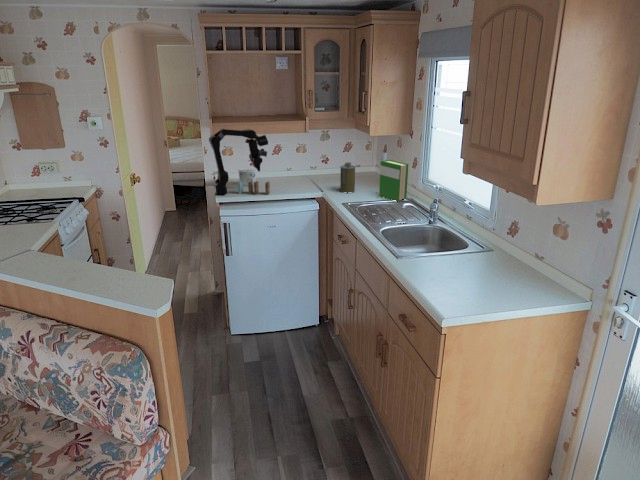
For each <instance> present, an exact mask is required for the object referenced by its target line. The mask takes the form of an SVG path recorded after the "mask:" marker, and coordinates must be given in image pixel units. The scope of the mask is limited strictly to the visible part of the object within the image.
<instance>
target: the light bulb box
mask: <svg viewBox="0 0 640 480" xmlns="http://www.w3.org/2000/svg"><path fill="white" fill-rule="evenodd" d="M238 177H239V179H238V180H239V181H242V187H243V186H246V187H247V186H248V183H249V182H250V181H253V187H254V182H256V170H255V169H240V170H239V171H238Z"/></svg>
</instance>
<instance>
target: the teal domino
mask: <svg viewBox="0 0 640 480" xmlns="http://www.w3.org/2000/svg"><path fill="white" fill-rule="evenodd" d="M243 191H244V187H243V186H242V181H240V180H239V181H238V182H237V194H238V193H239V194H238V195H241V194H243Z"/></svg>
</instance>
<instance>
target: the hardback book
mask: <svg viewBox="0 0 640 480" xmlns="http://www.w3.org/2000/svg"><path fill="white" fill-rule="evenodd" d="M408 175H409V163H405V162H401V161H397V160H392V159H385V160H380V169H379V191H378V194H379V195H378V196H379V197H380V196H382V197H381V198H383V197H385V198H384V199H386V198H388V199H387V200H389V199H392V200H396V201H399V200H400V201H403V200H402V199H406V200H407V191H408V177H409V176H408ZM392 200H391V201H392ZM400 201H399V202H400Z"/></svg>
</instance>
